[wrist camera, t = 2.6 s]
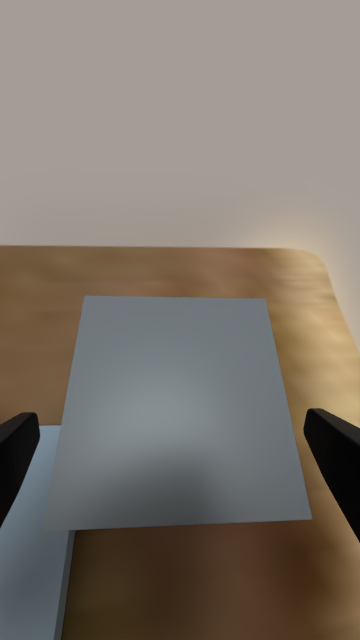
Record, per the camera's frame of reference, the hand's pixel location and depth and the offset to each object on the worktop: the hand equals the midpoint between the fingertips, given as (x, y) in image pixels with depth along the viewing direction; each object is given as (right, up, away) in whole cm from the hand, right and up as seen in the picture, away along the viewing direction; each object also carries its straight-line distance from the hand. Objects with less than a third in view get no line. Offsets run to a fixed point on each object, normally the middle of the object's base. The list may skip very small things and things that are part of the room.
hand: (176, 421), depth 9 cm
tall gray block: (-1, -3, +8) cm, 9 cm away
